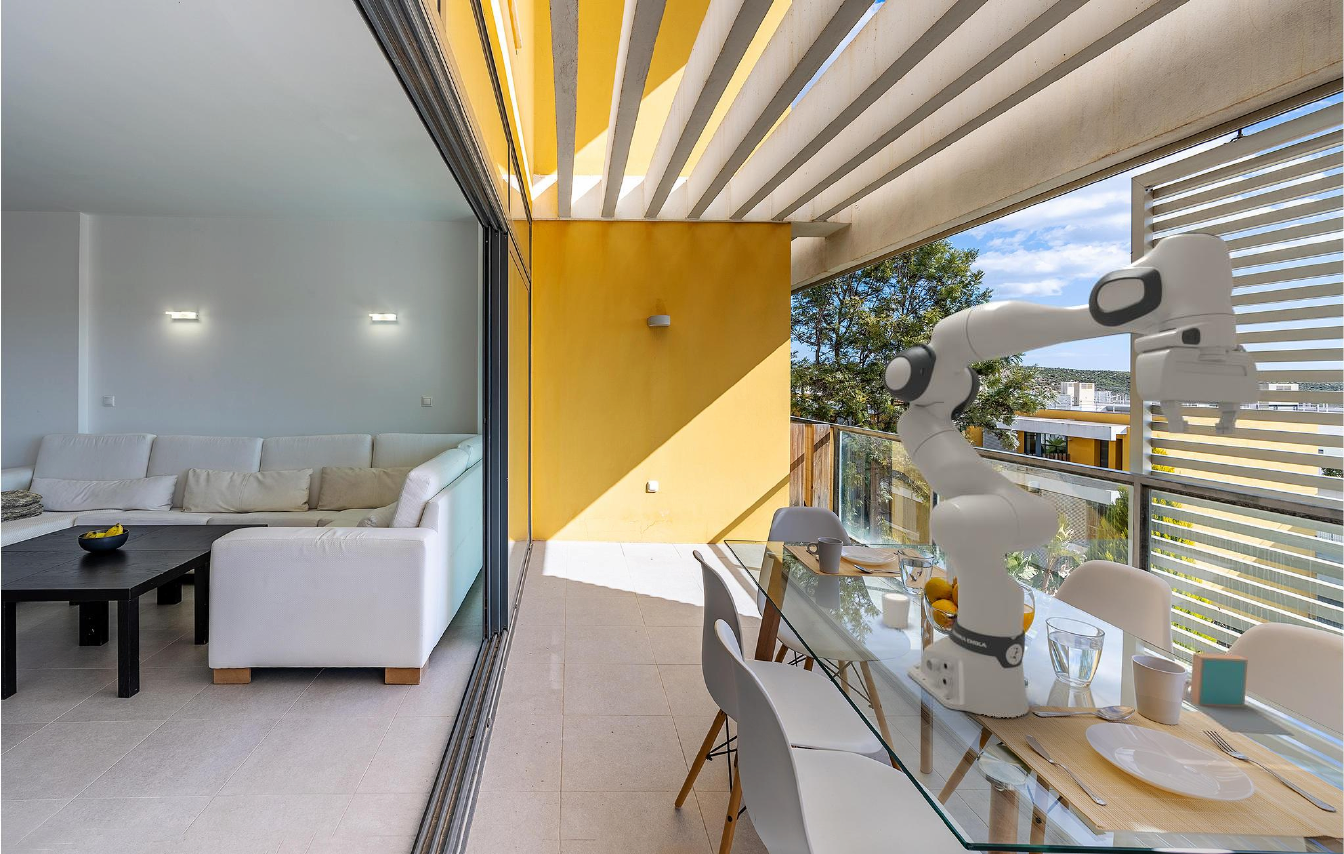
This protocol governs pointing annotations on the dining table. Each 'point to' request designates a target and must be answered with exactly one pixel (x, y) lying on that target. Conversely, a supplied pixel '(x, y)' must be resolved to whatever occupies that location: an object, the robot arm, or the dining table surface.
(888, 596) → the white cylinder
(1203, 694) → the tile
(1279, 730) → the mat
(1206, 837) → the dining table surface
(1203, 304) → the robot arm
